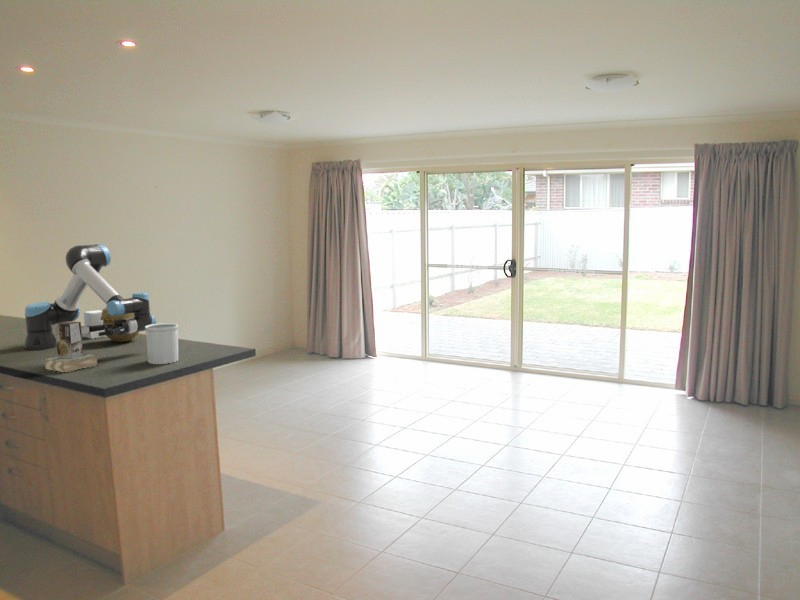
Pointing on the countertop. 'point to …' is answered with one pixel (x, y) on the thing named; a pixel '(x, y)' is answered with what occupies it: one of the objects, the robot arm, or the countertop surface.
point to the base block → (70, 363)
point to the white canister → (92, 320)
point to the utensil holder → (162, 343)
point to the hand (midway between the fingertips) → (83, 333)
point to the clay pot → (111, 320)
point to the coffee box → (69, 339)
